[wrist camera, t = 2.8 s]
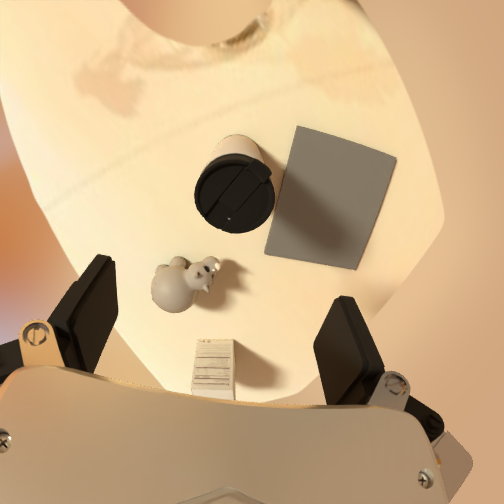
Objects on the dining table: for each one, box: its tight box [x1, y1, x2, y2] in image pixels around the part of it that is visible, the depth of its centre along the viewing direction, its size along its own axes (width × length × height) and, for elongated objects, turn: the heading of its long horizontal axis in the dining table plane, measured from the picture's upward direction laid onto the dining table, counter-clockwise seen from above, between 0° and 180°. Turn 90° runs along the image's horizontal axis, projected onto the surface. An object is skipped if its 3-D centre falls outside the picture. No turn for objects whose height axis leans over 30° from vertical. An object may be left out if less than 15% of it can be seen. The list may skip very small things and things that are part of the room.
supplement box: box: [191, 339, 235, 400], centre depth 51 cm, size 7×7×13 cm
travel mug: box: [194, 135, 275, 234], centre depth 30 cm, size 6×7×20 cm
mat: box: [264, 126, 396, 270], centre depth 42 cm, size 20×16×1 cm
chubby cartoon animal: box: [151, 256, 221, 313], centre depth 43 cm, size 7×12×8 cm, turn 117°
